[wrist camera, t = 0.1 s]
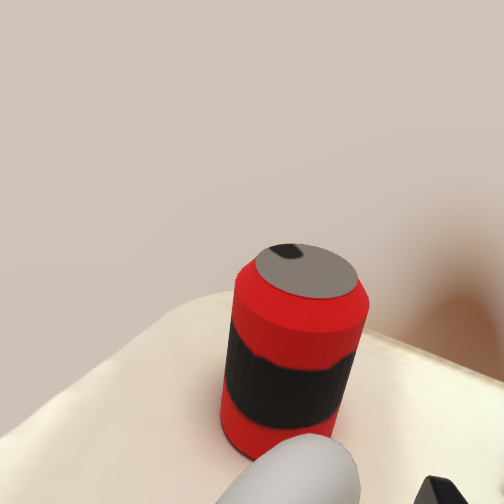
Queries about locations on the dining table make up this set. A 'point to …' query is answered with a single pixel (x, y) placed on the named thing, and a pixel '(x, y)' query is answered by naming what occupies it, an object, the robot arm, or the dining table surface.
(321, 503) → the donut
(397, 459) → the dining table surface
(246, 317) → the soda can
